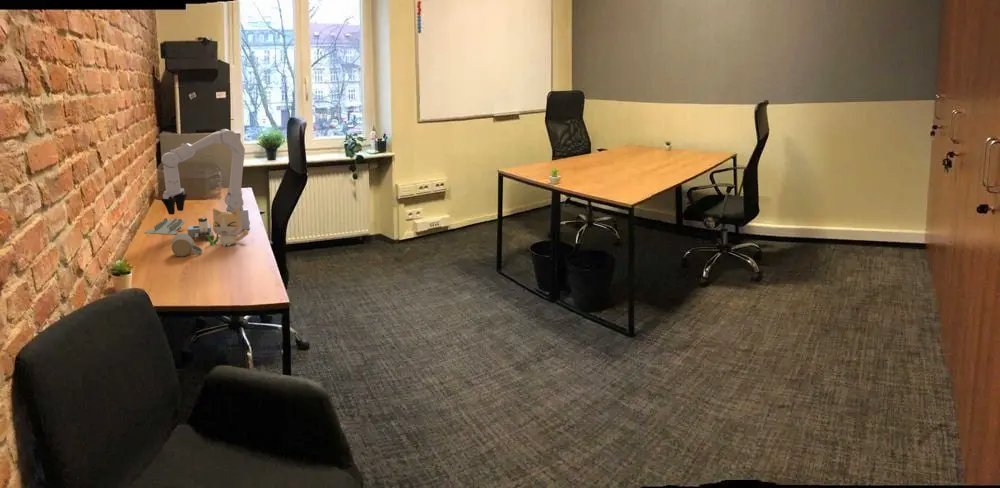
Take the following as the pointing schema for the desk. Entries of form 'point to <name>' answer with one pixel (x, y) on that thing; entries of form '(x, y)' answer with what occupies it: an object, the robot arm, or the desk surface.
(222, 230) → the kitten
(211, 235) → the mount
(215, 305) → the desk surface
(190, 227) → the dock
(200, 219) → the pin
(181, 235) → the ceramic mug
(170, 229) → the metal bracket
